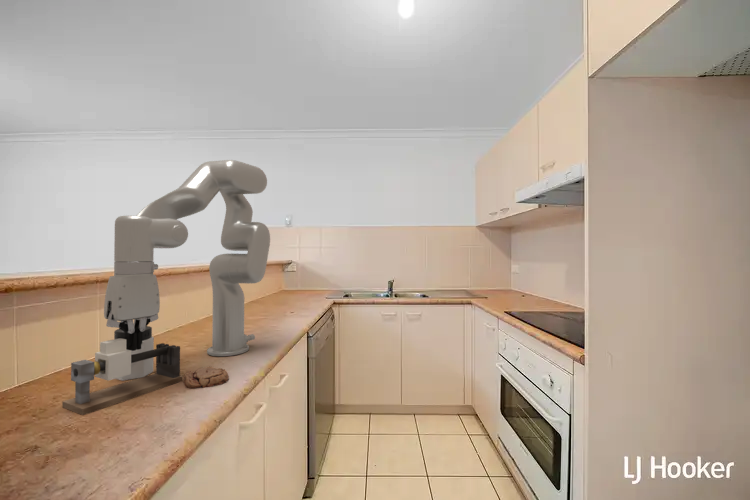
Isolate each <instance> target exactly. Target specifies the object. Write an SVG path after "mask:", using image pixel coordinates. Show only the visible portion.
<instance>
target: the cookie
mask: <svg viewBox="0 0 750 500" xmlns="http://www.w3.org/2000/svg"><path fill="white" fill-rule="evenodd" d="M183 379H184V380H183V384H184V386H185V387H186V388H187V389H197V388H203V389H204V388H212V387H215V386H221V385H223V384H225V383H227V382H228V381H229V379H230V376H229V372H228V371H227V370H226V369H223V368H221V367H219V368H218V367H214V366H213V367H212V366H204V367H200V368H198V369H197V370H195V371H194V372H193V371H188V372H187V373H185V374H184V376H183Z"/></svg>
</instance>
